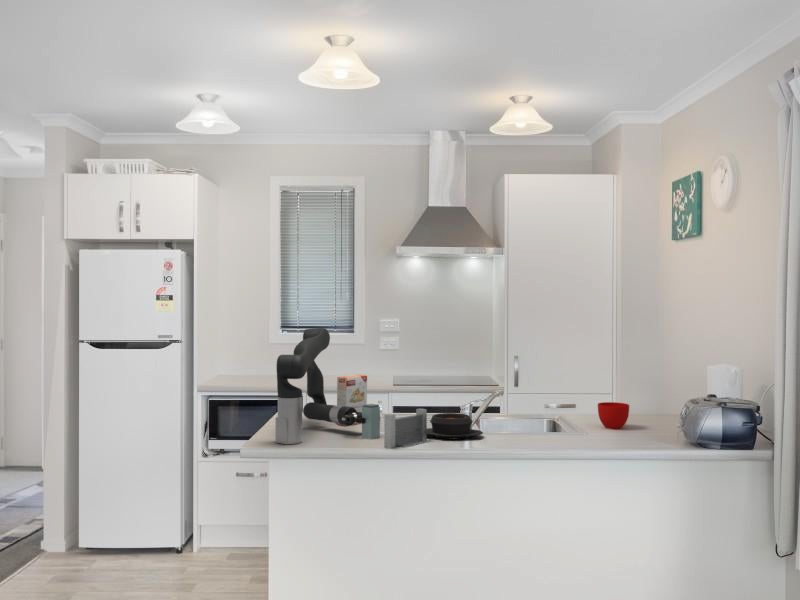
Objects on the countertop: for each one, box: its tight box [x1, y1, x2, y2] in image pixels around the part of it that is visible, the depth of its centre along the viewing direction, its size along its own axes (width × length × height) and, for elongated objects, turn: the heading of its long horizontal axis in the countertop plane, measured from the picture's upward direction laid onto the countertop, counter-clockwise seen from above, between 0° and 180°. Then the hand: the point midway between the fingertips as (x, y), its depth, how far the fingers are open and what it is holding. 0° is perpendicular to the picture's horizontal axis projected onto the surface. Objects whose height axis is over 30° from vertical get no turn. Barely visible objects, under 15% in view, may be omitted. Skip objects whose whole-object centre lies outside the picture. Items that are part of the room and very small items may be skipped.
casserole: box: [427, 412, 484, 440], centre depth 302 cm, size 25×19×8 cm
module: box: [361, 403, 381, 440], centre depth 300 cm, size 5×5×13 cm
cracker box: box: [336, 374, 368, 427], centre depth 332 cm, size 14×6×21 cm, turn 143°
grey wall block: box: [383, 408, 429, 449], centre depth 286 cm, size 21×6×12 cm, turn 139°
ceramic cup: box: [597, 401, 630, 430], centre depth 326 cm, size 13×17×10 cm
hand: (372, 419), depth 300 cm, fingers open, 8 cm apart
